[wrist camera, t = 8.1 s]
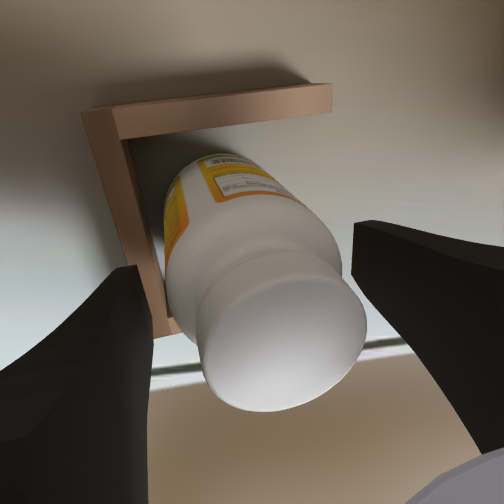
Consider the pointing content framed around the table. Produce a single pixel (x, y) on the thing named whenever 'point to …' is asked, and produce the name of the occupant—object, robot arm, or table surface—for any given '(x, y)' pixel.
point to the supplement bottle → (257, 286)
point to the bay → (171, 121)
